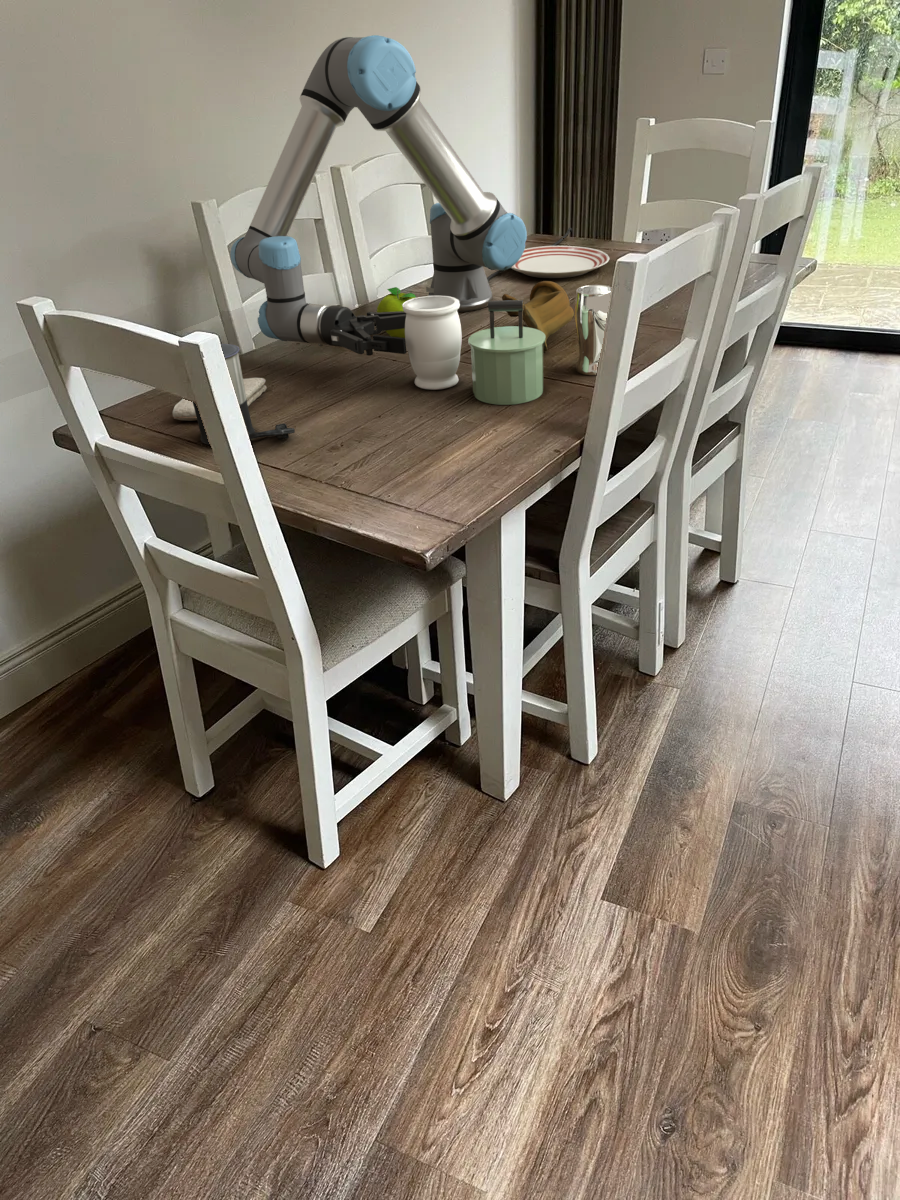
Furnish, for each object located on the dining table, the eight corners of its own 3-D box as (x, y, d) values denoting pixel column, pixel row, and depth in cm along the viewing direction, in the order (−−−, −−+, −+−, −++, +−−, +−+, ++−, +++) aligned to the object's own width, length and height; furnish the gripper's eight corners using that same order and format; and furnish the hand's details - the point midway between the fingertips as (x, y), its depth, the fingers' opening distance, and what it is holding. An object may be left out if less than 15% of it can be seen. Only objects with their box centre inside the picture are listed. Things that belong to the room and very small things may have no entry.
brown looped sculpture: (459, 312, 188) (523, 269, 199) (483, 371, 193) (544, 326, 205) (525, 295, 174) (590, 251, 185) (549, 359, 179) (610, 312, 191)
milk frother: (201, 430, 162) (182, 346, 154) (291, 417, 164) (277, 334, 156) (201, 462, 150) (181, 373, 142) (298, 448, 152) (284, 359, 144)
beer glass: (589, 361, 179) (591, 282, 171) (618, 368, 175) (622, 287, 167) (566, 371, 176) (567, 290, 167) (596, 378, 171) (598, 296, 163)
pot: (478, 380, 174) (476, 330, 169) (545, 380, 172) (545, 329, 167) (469, 404, 164) (466, 352, 159) (540, 404, 162) (539, 351, 157)
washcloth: (269, 388, 178) (267, 373, 176) (235, 424, 163) (232, 407, 161) (211, 388, 180) (208, 373, 178) (173, 424, 165) (169, 407, 163)
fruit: (408, 327, 206) (404, 281, 201) (430, 336, 200) (427, 289, 194) (372, 336, 202) (367, 290, 197) (394, 346, 196) (389, 298, 190)
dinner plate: (629, 264, 242) (630, 251, 240) (565, 288, 226) (565, 274, 224) (547, 253, 259) (547, 241, 257) (482, 275, 243) (481, 262, 241)
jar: (401, 379, 177) (394, 300, 169) (450, 370, 180) (445, 291, 172) (421, 396, 169) (415, 314, 161) (473, 386, 172) (469, 304, 164)
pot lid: (474, 332, 170) (472, 291, 166) (548, 331, 168) (548, 289, 164) (463, 356, 159) (460, 312, 155) (542, 355, 157) (542, 311, 153)
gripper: (366, 326, 191) (456, 335, 182) (294, 364, 173) (390, 376, 164) (362, 289, 187) (454, 297, 178) (288, 324, 169) (386, 334, 160)
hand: (424, 335), depth 171 cm, fingers open, 13 cm apart
